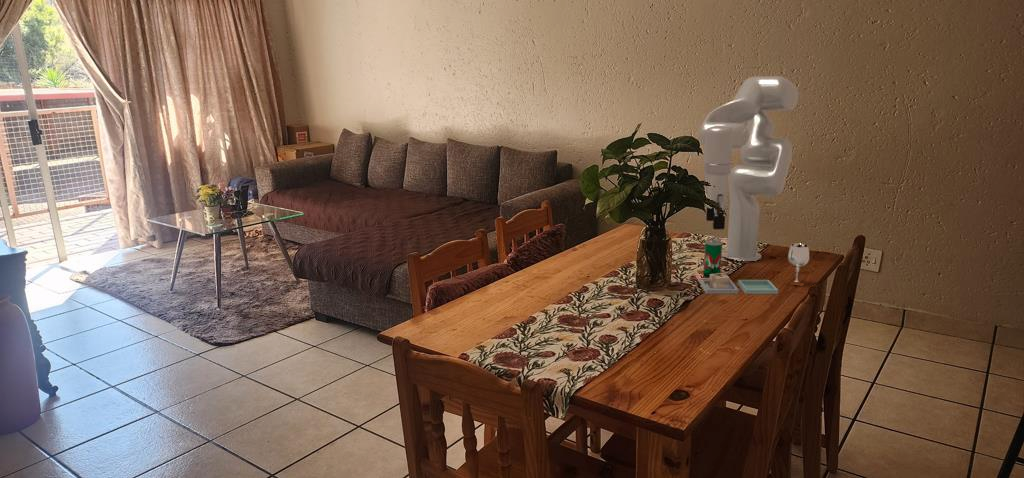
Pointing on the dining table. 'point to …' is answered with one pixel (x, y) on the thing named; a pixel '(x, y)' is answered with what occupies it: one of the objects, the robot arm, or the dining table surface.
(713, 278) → the letter cube
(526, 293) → the dining table surface
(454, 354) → the dining table surface
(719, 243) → the soda can
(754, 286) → the tray teal
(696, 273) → the tray terracotta
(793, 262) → the wineglass
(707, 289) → the tray slate
